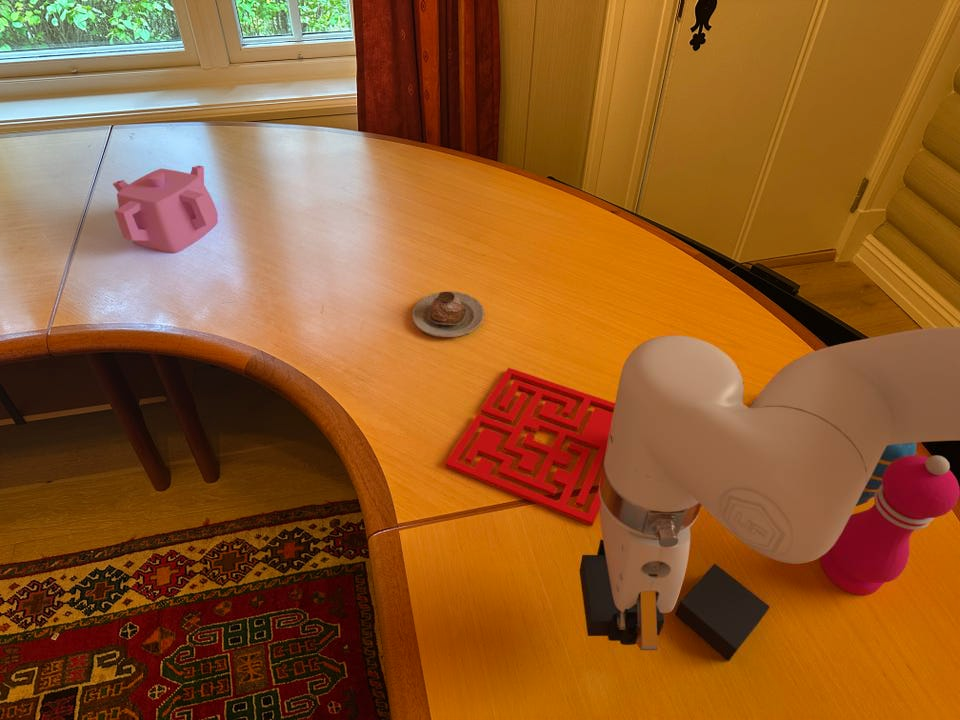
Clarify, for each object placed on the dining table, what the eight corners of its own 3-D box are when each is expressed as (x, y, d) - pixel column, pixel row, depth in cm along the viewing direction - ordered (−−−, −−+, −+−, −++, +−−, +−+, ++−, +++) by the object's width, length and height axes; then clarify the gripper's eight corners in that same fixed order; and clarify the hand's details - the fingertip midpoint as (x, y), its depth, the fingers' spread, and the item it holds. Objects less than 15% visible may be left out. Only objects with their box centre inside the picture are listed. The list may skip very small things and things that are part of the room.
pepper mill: (868, 613, 65) (972, 507, 51) (803, 566, 69) (884, 456, 55) (896, 572, 68) (1001, 462, 55) (833, 529, 72) (916, 417, 59)
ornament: (819, 510, 74) (873, 430, 64) (828, 482, 77) (882, 401, 67) (865, 532, 72) (929, 452, 62) (872, 502, 75) (934, 421, 65)
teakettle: (132, 263, 113) (105, 203, 105) (129, 221, 124) (104, 164, 116) (227, 243, 118) (208, 184, 110) (215, 205, 130) (198, 148, 121)
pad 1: (644, 570, 60) (649, 554, 58) (659, 636, 55) (665, 621, 53) (579, 570, 60) (582, 554, 58) (587, 636, 55) (591, 621, 53)
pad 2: (761, 619, 64) (770, 606, 62) (728, 662, 61) (736, 649, 59) (707, 576, 68) (714, 562, 66) (673, 614, 64) (680, 601, 62)
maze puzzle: (508, 370, 92) (508, 367, 91) (637, 414, 85) (638, 411, 85) (445, 466, 79) (445, 462, 78) (592, 526, 72) (593, 522, 72)
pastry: (431, 290, 107) (429, 269, 104) (494, 306, 104) (494, 284, 101) (400, 331, 99) (397, 308, 96) (468, 349, 96) (467, 326, 93)
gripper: (738, 594, 39) (680, 697, 51) (674, 401, 52) (640, 519, 64) (621, 595, 39) (591, 698, 51) (586, 402, 52) (568, 520, 64)
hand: (618, 598), depth 57 cm, fingers closed on pad 1, 6 cm apart
